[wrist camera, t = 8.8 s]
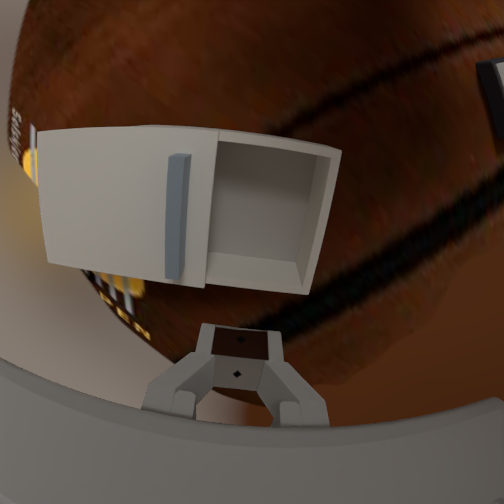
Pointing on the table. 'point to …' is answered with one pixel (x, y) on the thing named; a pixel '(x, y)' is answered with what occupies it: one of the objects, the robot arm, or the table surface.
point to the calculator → (494, 89)
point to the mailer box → (268, 210)
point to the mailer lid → (128, 200)
